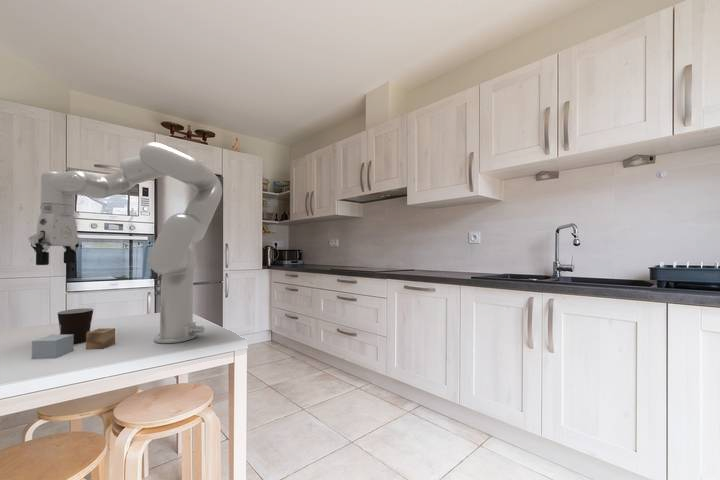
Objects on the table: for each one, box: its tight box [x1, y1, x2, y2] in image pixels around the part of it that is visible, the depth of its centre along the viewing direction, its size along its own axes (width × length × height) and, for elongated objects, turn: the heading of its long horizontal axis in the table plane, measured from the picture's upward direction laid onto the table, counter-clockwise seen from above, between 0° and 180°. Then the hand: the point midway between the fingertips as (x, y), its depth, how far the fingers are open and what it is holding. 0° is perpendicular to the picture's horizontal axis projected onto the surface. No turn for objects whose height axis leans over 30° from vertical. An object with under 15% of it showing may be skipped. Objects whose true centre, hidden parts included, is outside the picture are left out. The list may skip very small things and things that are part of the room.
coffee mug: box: [57, 307, 94, 345], centre depth 102 cm, size 12×9×10 cm
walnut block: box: [85, 327, 116, 350], centre depth 96 cm, size 5×5×5 cm
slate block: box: [31, 334, 74, 360], centre depth 89 cm, size 6×6×5 cm
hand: (56, 264), depth 100 cm, fingers open, 9 cm apart
